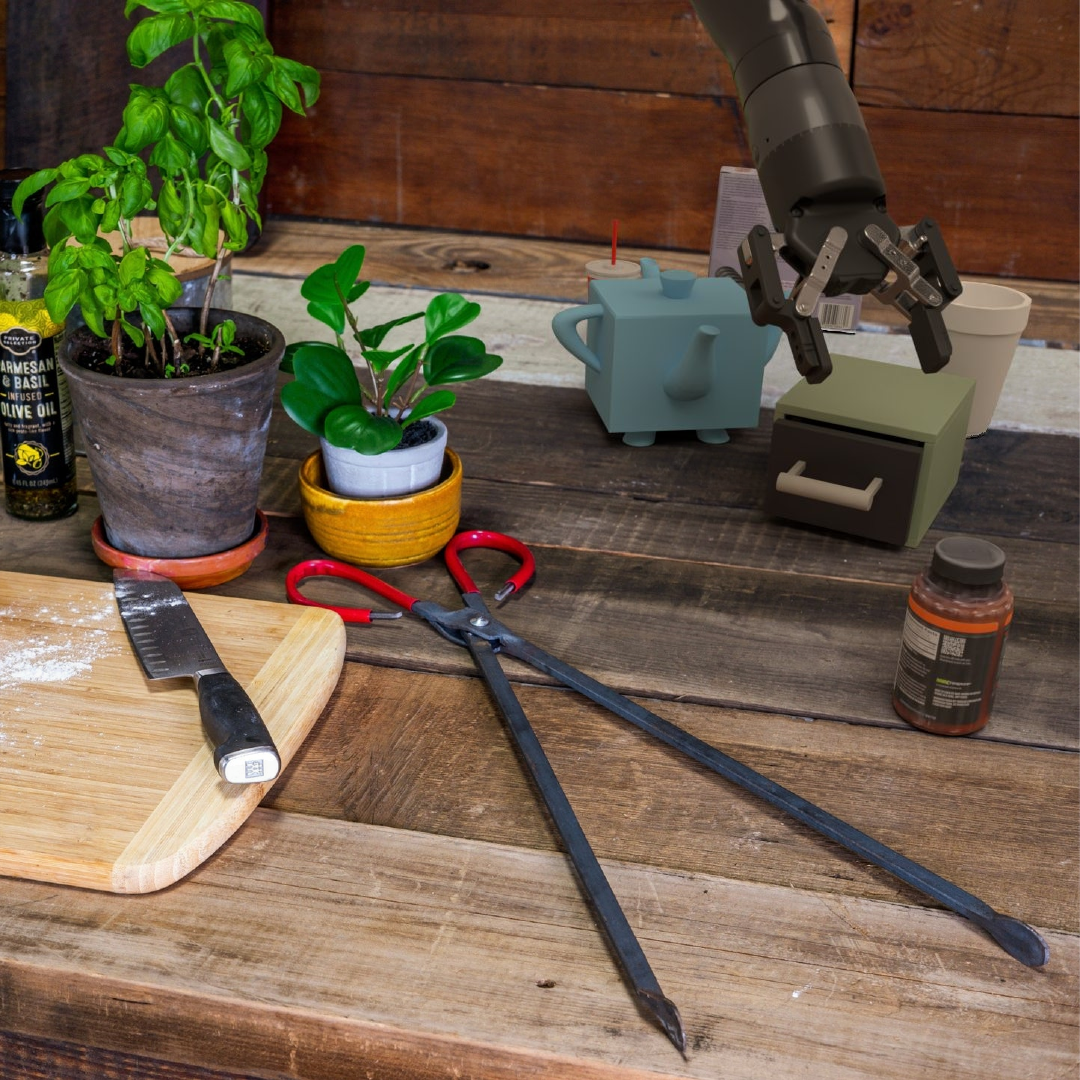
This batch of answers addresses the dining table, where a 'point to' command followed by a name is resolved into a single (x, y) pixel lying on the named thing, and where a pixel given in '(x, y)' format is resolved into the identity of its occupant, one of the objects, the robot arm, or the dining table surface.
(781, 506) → the drawer
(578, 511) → the dining table surface
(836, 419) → the cabinet
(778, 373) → the dining table surface
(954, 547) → the supplement bottle
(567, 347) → the teakettle
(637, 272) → the beverage cup
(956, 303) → the foam cup
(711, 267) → the cake pan box
